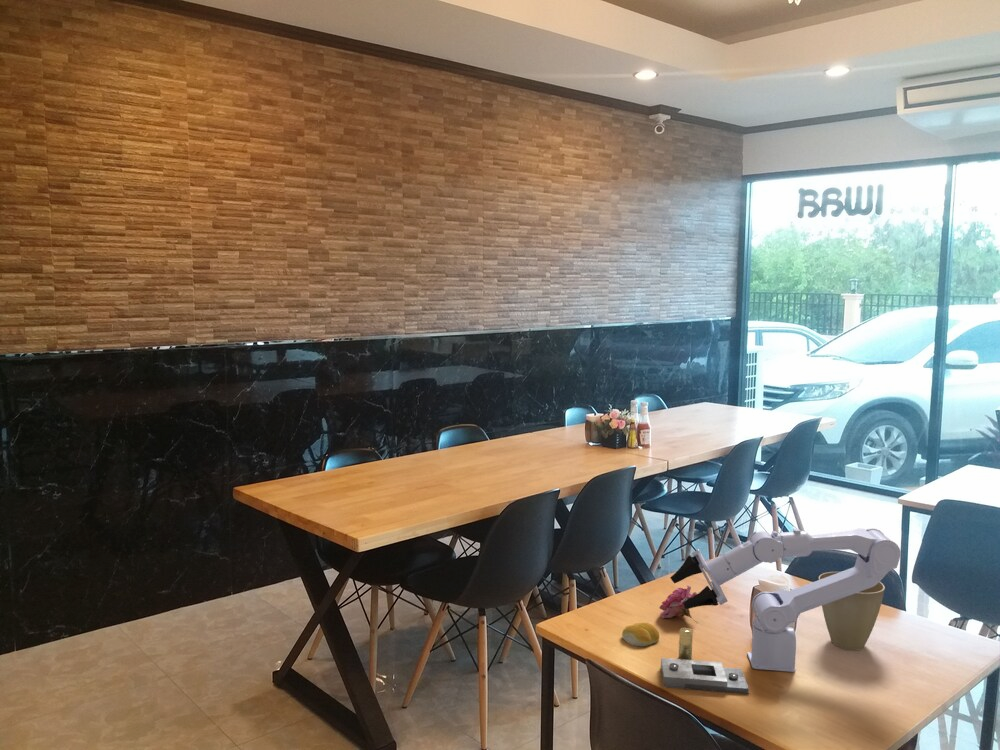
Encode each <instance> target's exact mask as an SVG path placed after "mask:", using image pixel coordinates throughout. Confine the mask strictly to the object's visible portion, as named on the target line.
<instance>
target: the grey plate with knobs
mask: <svg viewBox="0 0 1000 750" xmlns="http://www.w3.org/2000/svg"><path fill="white" fill-rule="evenodd" d="M660 671H661V677H662V683H663V688H671V689H681V690H683V689H684V690H696V691H709V692H717V693H718V692H719V693H732V694H744V695H749V694H750V693H749V689H750V688H749V686H748V684H747V683H748V682H747V680H746V677H745V675H744V672H743V669H742V668H738V667H737V668H736V667H735V668H734V667H724V665H723V663H722V661H721V662H720V661H710V660H709V661H708V660H699V659H698V660H694V659H692V660H684V659H679V658H671V657H670V658H668V657H661V659H660Z"/></svg>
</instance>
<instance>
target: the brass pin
mask: <svg viewBox="0 0 1000 750" xmlns="http://www.w3.org/2000/svg"><path fill="white" fill-rule="evenodd" d="M693 631H694V630H693V629H691V628H688V627H681V628H680V629H679V637H678V639H679V640H678V659H684V660H693V659H692V658H693V636H694V635H693V633H694V632H693Z"/></svg>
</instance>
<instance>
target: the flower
mask: <svg viewBox="0 0 1000 750" xmlns="http://www.w3.org/2000/svg"><path fill="white" fill-rule="evenodd" d="M691 588H692V586H690V585H686V588H682V587H677V589H674V590H673V591H672V593H670V594H669V595H668V596H667V597H666V599H665V600H664V601H662V602H661V605H660V606H659V609H660V610H661V612H660V614H659V617H660V618H662V619H670V618H673V617H674V616H675V617H678V616H681V615H684V616H686V617H687V618H688V617H689V618H691V619H693V617H692V615H691V612H690V609H686V607H685V606H684V604H683V603H684V602H685V601H687V600H688V599H690V598H692V597H694V596H695V595H697V594H698V593H697V592H696V591H695V592H693V593H691V590H692V589H691ZM693 621H694V622H695V623H697V621H696V620H695V619H693Z"/></svg>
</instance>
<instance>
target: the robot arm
mask: <svg viewBox="0 0 1000 750" xmlns="http://www.w3.org/2000/svg"><path fill="white" fill-rule="evenodd" d="M792 530H793V531H785V532H783V531H782V532H777V530H775V531H773V530H772V531H771V534H770V533H769V532H767V531H758V532H757V531H754V532H753V533H752V534H751V535H749V538H748V540H746V541H745V542H744V543H741V544H738V545H737V546H735V547H733V548H732V549H730V550H727V551H726V552H724V553H723V554H721V555H719V556H717V557H716V558H713V559H711V560H710V561H708V562H707V560H706V559H705V557H704V555H703V554H702V552H701V550H700V549H696V550H694V551H692V552H691V554H692V555H691V554H689V555H687V557H686V559H685V560H684V562H683V563H682V565H681V566H680V567H679V568H678V570H677V571H675V572H674V574H672V575H671V576H670V580H671V581H672V583H674V584H676V583H677V584H678V583H680V582H681V581H683V580H685V579H687V578H690V577H692V576H695V575H698V574H701V573H702V574H703V576H704V578H705V579H706V581H707V584H708V585H706V586H705V587H704V588H703V589H702V590H701V591H699V592H698V593H697V595H695V596H694V597H692V598H690V599H688V600H687V601H685V602H684V603H683V604H684V606H685V607H686V609H689V610H690V609H693V608H697V607H698V608H699V607H704V606H713V607H715V606H718V605H720V606H722V605H724V604H726V603H727V602H728V598H727V596H726V595H725V593H724V591H723V590H722V587H721V585H724V584H725V583H727V582H729V581H731V580H733V579H735V578H737V577H738V576H740V575H741V574H744V573H745V572H748V571H750V569H753V568H754V567H756V566H758V565H760V564H762V563H769V564H773V563H774V562H776V561H777V560H778V559H788V558H799V557H800V558H801V557H808V556H810V555H811V554H812V553H813V552H814V551H833V550H834V551H838V550H840V551H841V550H844V551H845V550H850V551H852V552H855V553H856V554H857V557H856V560H855V562H854V566H853V567H851V568H850V567H849V568H847V569H844V570H843V571H838V572H839V573H837V574H834V575H831V576H828V577H826V578H823V579H820V580H819V579H818V580H816V581H815V580H814V581H812V582H810V583H807V584H804V585H802V586H799V587H796V588H794V589H791V590H784V589H782V590H781V589H778V590H775V591H761V592H759V593H758V594H757V593H756V595H755V596H754V597H753V599H752V603H751V607H752V609H753V611H754V613H755V614H756V616H755V617H754V619H753V621H752V639H751V640H752V641H751V651H747V652H746V654H747V658H748V659H749V662H750V665H751V667H752V669H754V670H763V671H764V670H765V671H776V672H777V671H779V672H789V673H794V672H795V673H796V653H797V652H796V651H797V637H796V632H795V629H794V628H793V627H789V625H791V624H793V623H796V621H797V620H798V618H799V616H800V615H801V613H805V612H808V611H810V610H813V609H816V608H819V607H822V605H825V604H827V603H830V602H833V601H836V600H838V599H841V598H844V597H847V596H849V595H852V594H855V593H858V592H860V591H863V590H866V589H869V588H871V587H874V586H875V585H877V584H878V583H879V582H881V581H882V579H884V577H886V576H887V574H889V572H890V571H892V570H895V569H897V568H898V565H899V562H900V559H901V549H900V547H899V545H898V544H897V543H896V542H895V541H893V540H891V539H890V538H889V537H888V536H886V535H885V534H884V533H883V531H881V530H880V529H877V528H867V529H865V528H856V529H853V530H844V531H837V532H828V533H821V534H820V533H819V534H812V535H810V534H809V533H808V532H807V531H805V530H801V529H800V528H793V529H792ZM707 575H708V576H707ZM709 578H710V579H709ZM710 580H711V581H710Z"/></svg>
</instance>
